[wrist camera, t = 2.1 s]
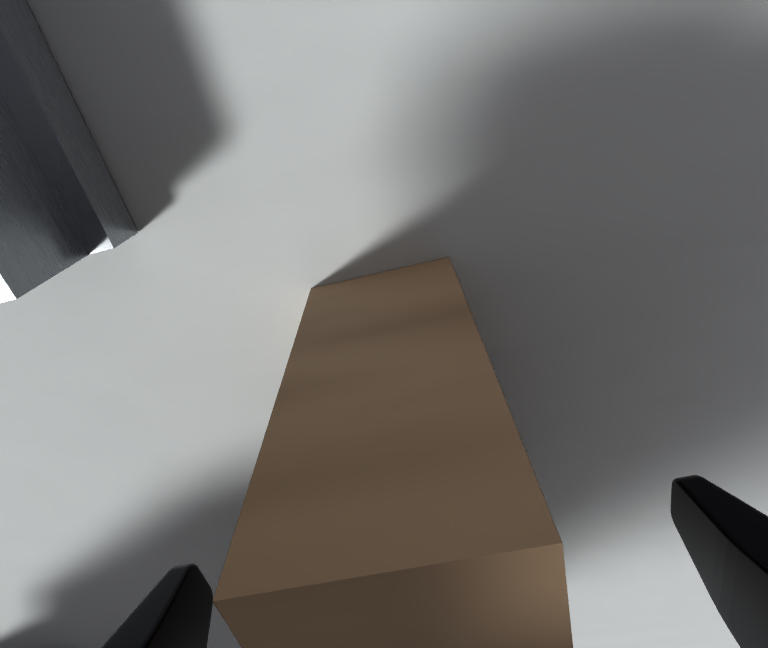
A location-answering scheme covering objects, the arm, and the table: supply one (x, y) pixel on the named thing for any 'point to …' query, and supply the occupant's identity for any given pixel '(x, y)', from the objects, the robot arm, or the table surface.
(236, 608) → the brown wooden block
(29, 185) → the floor track
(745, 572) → the robot arm
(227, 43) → the table surface
